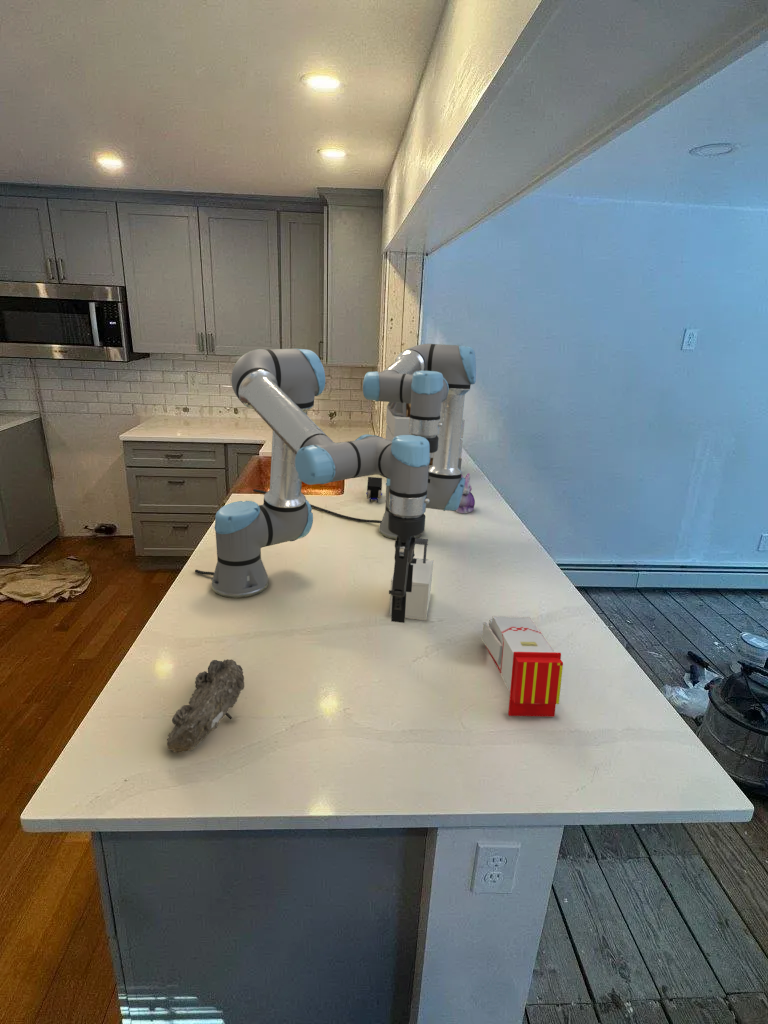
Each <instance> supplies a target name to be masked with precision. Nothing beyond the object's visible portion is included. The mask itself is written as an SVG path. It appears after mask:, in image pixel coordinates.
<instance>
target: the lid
mask: <svg viewBox="0 0 768 1024" xmlns="http://www.w3.org/2000/svg"><path fill="white" fill-rule="evenodd" d="M415 545H422V546H423V556H422V558H420V557H414V558H413V559H417V561H416V564H412V563H411V565H413V577H412V585H417V586H426V587H429V582H430V577H431V572H432V573H433V570H432V566H433V567H434V559H428V558H427V552H428V545H429V539H428V538H422V537H418V538H416V542H415ZM393 576H394V572H393V573H392V576H391V580H390V584H391V583H393Z"/></svg>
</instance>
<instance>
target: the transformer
mask: <svg viewBox="0 0 768 1024" xmlns="http://www.w3.org/2000/svg"><path fill="white" fill-rule="evenodd" d="M387 403H388V404H387V405H386V413H385V414H386V415H385V423H386V428H385V438H384V439H387V440H390V441H392V440H393V438H394V437H396V436H400V435H410V433H409V419H410V410H411V404H409V403H397V402H387ZM464 429H465V419H464V418H463V419H462V429H461V439H460V450H459V460H458V468H459V469H460V470H461V471H462V461H463V460H462V453H463V442H464V441H463V440H462V439H463V438H464V431H465V430H464ZM432 463H433V453H430V464H429V467H431V466H432Z"/></svg>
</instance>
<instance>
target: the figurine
mask: <svg viewBox="0 0 768 1024" xmlns="http://www.w3.org/2000/svg"><path fill="white" fill-rule="evenodd" d="M462 477H463V478H465V479H466V480H465V486H464V490H463V494H462V498H461V502H460V505H459V507H458V509H457V510H455V512H456V513H458V514H467V513H469V514H470V513H472V512H473V511H474V509H475V505H476V501H475V497H474V494H473V493H472V490H473V488H472V485H471V482H470V478H471V473H470V472H467V474H466V475H465V476H463V474H462V476H461V478H462Z"/></svg>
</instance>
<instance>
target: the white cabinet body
mask: <svg viewBox="0 0 768 1024" xmlns="http://www.w3.org/2000/svg"><path fill="white" fill-rule="evenodd" d="M433 567H434V565H433V566H432V572H431V577H430V582H429V587H426V586H417V585H412V591H411V592H406V608H405V619H410V620H418V621H427V617H428V612H429V607H430V600H431V595H432V593H431V592H432V581H433ZM392 586H393V583H391V582H390V590H392ZM389 595H390V598H389V614H388V615H389V617H391V615H392V595H391V594H389Z"/></svg>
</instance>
